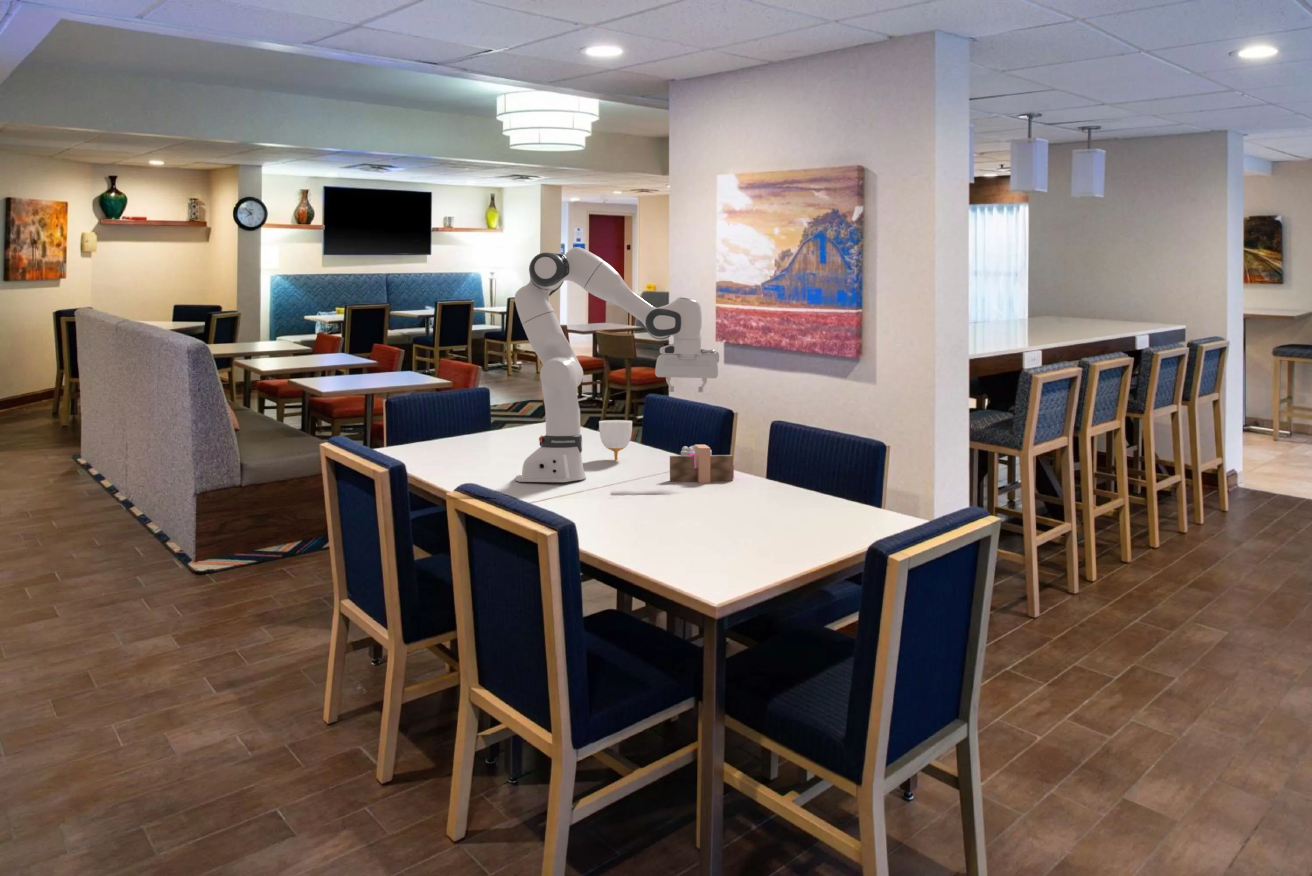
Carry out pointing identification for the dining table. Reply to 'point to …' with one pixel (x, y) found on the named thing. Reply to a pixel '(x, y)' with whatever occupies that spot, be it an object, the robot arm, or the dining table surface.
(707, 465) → the tan notched block
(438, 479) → the dining table surface
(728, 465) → the walnut rail
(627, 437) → the cup
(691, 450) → the lumpy-topped squat cylinder
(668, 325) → the robot arm
